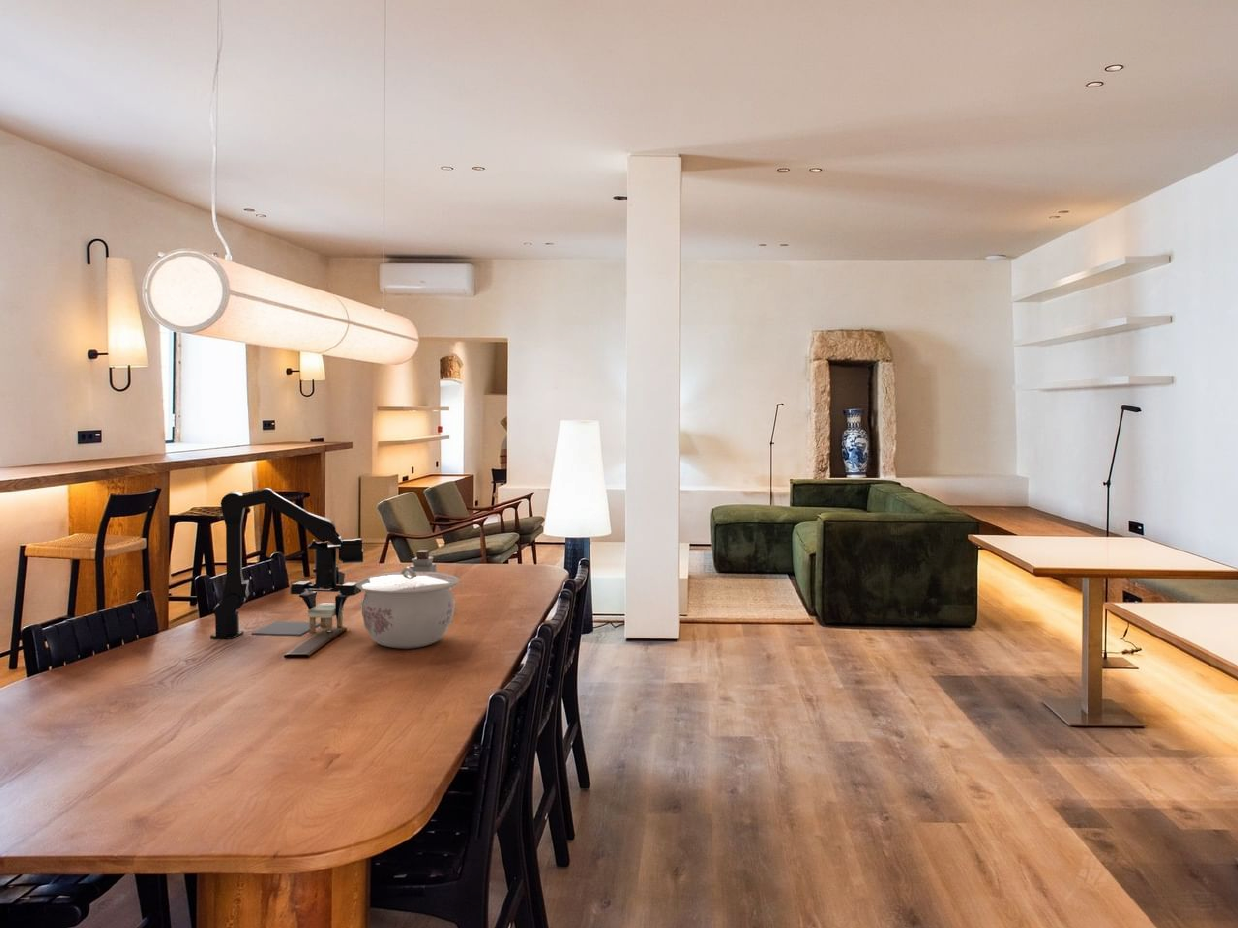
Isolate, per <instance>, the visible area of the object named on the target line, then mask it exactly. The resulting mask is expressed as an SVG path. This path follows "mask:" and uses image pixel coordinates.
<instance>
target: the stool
mask: <svg viewBox="0 0 1238 928" xmlns="http://www.w3.org/2000/svg"><path fill="white" fill-rule="evenodd" d="M344 610H345V609H344V606H343V609H342V611H341V614H340V617H339V619H337V618H336V627H337V628H342V627H343V624H344V623H343V621H344V620H343V612H344ZM307 612H308V613H307V617H308V618H309V622H310V631H309V633H310V634H311V633H313V634H314V633H316V631H317V627H316V621H317V620H316V618H320V623H321V625H320V627H324V628H325V630H326V631H332V632H333V617H336V607H335V602H334V603H329V602H328V603H327V602H326V603H325V602H321V603H320V604H318V605H317V604H316V606H315V607H313V608H311V609H309V608H308V609H307ZM326 631H325V632H326Z"/></svg>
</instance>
